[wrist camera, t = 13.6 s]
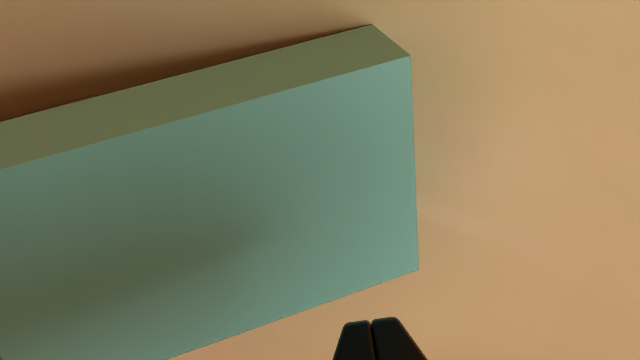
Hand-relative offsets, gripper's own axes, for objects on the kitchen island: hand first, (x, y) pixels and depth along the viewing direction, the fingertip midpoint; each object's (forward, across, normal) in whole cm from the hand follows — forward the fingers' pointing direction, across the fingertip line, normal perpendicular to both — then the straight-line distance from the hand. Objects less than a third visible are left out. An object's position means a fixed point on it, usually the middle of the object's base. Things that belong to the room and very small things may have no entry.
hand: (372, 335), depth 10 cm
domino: (+4, -1, -1) cm, 4 cm away
